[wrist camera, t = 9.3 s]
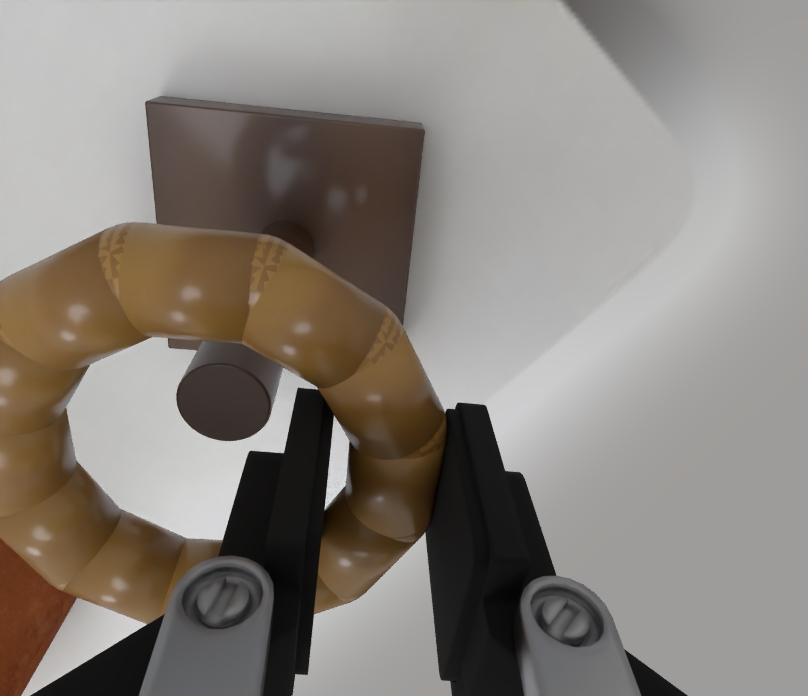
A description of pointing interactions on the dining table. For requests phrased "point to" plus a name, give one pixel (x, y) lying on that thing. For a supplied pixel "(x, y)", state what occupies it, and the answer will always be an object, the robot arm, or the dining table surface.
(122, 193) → the dining table surface
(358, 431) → the ring
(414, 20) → the dining table surface
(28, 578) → the bread
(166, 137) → the stand
